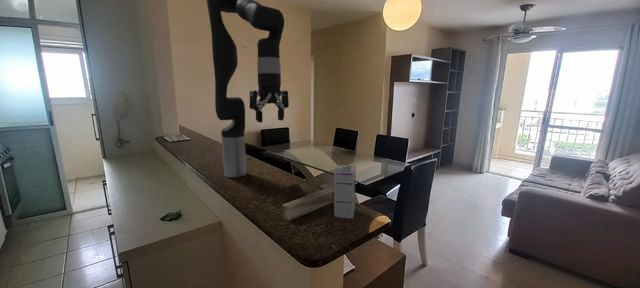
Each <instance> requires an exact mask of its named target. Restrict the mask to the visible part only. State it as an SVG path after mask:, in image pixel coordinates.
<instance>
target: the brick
mask: <svg viewBox="0 0 640 288" xmlns="http://www.w3.org/2000/svg"><path fill="white" fill-rule="evenodd" d="M287 193H288V197H289V199H290V202H291V201H294V200H297V199H299V198H302V197H305V196H307V194H306V193H305V191H304V190H303V187H302V186H301V185H300V183H294V184H288V190H287Z"/></svg>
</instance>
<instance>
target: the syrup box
mask: <svg viewBox="0 0 640 288" xmlns="http://www.w3.org/2000/svg"><path fill="white" fill-rule="evenodd" d="M333 182H334V187H333V188H334V191H333V193H334V194H333V197H334V200H333V201H334V202H333V203H334V205H333V213H334V217H335V218H339V219H340V218H341V219H351V220H352V219H354V215H355V212H356V211H355V210H356V207H355V206H356V204H355V203H356V166H354V165H345V164H343V165H341V164H340V165H337V166H336V168H335V170H334V181H333Z"/></svg>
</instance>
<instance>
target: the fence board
mask: <svg viewBox="0 0 640 288" xmlns="http://www.w3.org/2000/svg"><path fill="white" fill-rule="evenodd" d="M332 203H333V191H332V190H329V189H327V188H325V189H322V190H319V191H315V192H314V193H311V194H308V195H306V196H305V197H302V198H299V199H297V200H294V201H291V200H290V201H289V202H285V203H283V204H282V205H281V206H282V207H281V208H282V209H281V210H282V219H284V220H286V221H288V222H291V221H293V220H295V219H297V218H300V217H302V216H304V215H306V214H308V213H311V212H313V211H316V210H319V209H320V208H323V207H325V206H327V205H330V204H332Z"/></svg>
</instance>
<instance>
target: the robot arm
mask: <svg viewBox="0 0 640 288" xmlns="http://www.w3.org/2000/svg"><path fill="white" fill-rule="evenodd" d="M206 4H207V11H208V19H209V24H210V32H211V45H212V47H211V48H212V49H211V50H212V60H213V61H212V62H213V63H212V64H213V70H214V87H215V88H214V89H215V90H214V94H215V95H214V99H215V100H214V102H215V103H214V107H215V113H216V116H217V119H218V120H220V121H232V122H231V123H230V124H229V125H228V126H226V127H224V128H222V129H221V132H220V133H221V146H222V160H223V162H222V163H223V174H224V175H223V176H224V177H226V178H231V179H232V178H240V177H243V176H246V175H247V158H246V157H247V156H246V139H245V138H246V137H245V131H246V106H245V102H244V100H243V98H242V97H236V96H235V97H228V96H227V94H228V86H229V83H230V81H231V80H232V78H233V77H232V76H233V75H234V73H235V72H236V69H237V67H238V50H237V45H236V42H235V41H234V39H233V38H232V36H231V34H230V33H229V31H228V30H227V28H226V25H225V23H224V20H223V16H222V12H223V13H227V14H237V15H238V17H239V18H241V19H243V20H244V21H246V22H247V23H249V24H250V25H251V26H252V28H254V29H256V30H259V31H264V32H269V33H268V36H267V37H264V38H260V39H258V41H257V44H256V45H257V46H256V47H257V65H256V66H257V86H258V90H256V89H255V90H249V109H250V110H253V111H255V120H256V122H257V123H260V124H261V123H263V111H262V110H263V108H264V107H265V106H266V105H267V104H274V105H275V106H276V107H277V120H278V121H284V119H285V109H287V108H289V107H290V105H289V104H290V103H289V102H290V101H289V91H288V90H281V87H282V79H281V77H282V76H281V60H280V55H281V54H280V44H281V39H282V35H283V31H284V28H285V18H284V14H283V13H282V11H281V10H280V9H278V8H277V9H276V8H274V7H270V6H265V5H262V4H261V3H260V2H258V1H255V0H206ZM258 97H259V99H258Z"/></svg>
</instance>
